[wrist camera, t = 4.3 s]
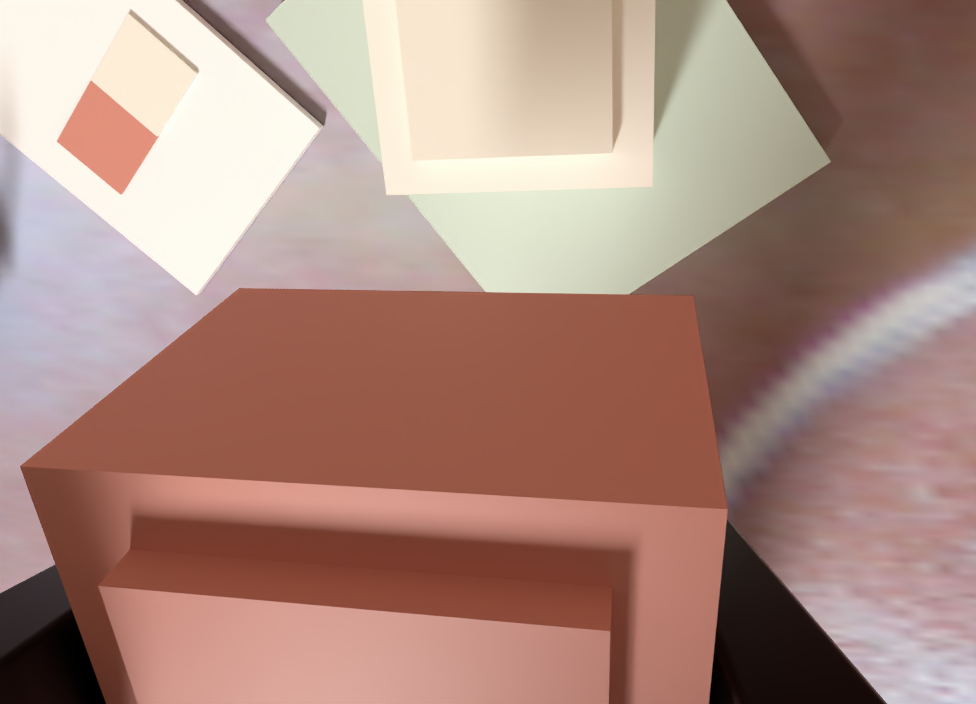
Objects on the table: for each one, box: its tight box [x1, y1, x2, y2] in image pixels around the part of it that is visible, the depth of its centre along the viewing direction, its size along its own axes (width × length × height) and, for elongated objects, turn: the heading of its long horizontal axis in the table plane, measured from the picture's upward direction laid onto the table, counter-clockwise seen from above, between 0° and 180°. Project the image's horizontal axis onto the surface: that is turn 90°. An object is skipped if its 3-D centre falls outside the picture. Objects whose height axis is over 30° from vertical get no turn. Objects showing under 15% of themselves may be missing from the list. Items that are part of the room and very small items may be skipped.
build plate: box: [265, 0, 831, 294], centre depth 18 cm, size 10×8×1 cm
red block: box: [20, 288, 728, 704], centre depth 8 cm, size 5×5×4 cm
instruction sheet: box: [0, 0, 324, 295], centre depth 20 cm, size 8×6×1 cm
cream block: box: [363, 0, 655, 195], centre depth 15 cm, size 5×5×4 cm
